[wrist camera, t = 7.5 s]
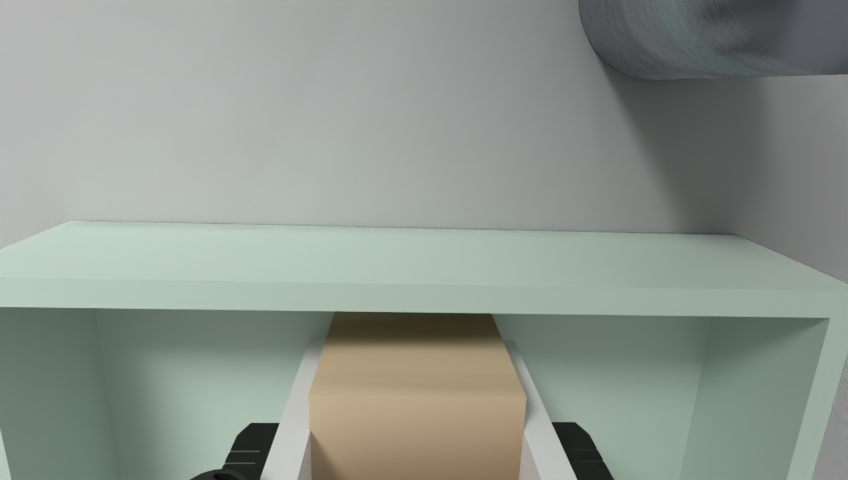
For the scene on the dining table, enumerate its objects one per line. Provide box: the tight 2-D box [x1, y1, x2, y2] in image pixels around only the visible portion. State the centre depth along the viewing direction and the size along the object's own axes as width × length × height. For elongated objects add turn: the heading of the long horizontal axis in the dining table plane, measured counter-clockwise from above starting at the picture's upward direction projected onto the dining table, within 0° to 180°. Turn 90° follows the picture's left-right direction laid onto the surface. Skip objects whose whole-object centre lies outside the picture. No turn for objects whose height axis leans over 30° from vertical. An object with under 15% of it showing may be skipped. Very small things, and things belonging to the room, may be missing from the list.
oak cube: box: [308, 311, 527, 480], centre depth 15 cm, size 5×5×5 cm
